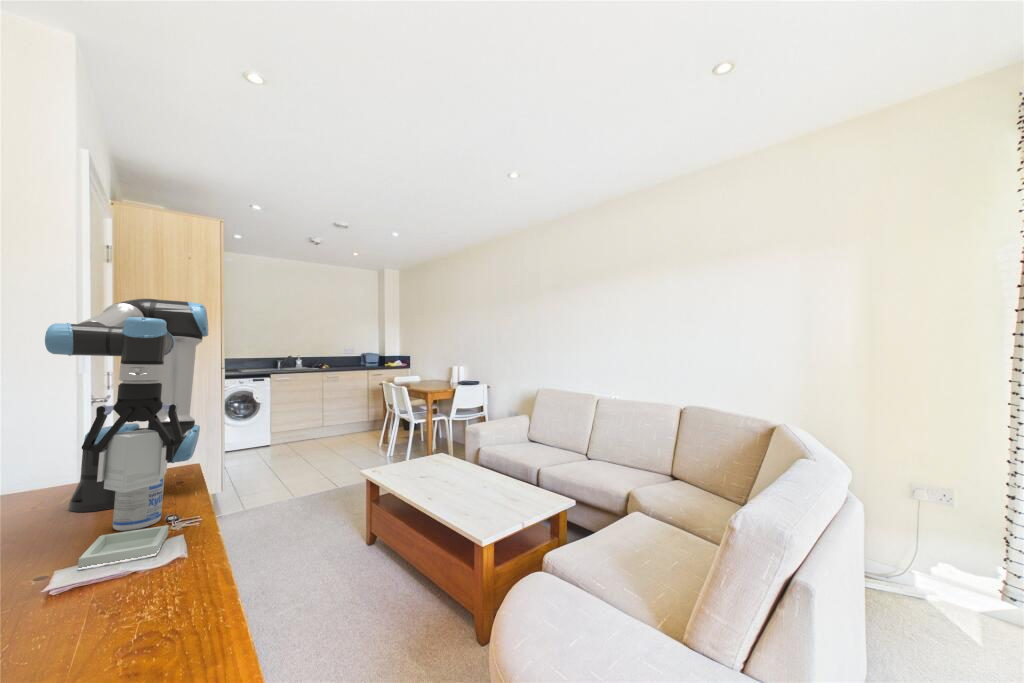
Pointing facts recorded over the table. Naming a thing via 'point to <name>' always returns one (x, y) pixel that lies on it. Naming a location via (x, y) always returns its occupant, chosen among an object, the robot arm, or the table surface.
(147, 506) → the supplement tub
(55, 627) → the table surface
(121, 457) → the supplement box
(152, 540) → the holder tray
